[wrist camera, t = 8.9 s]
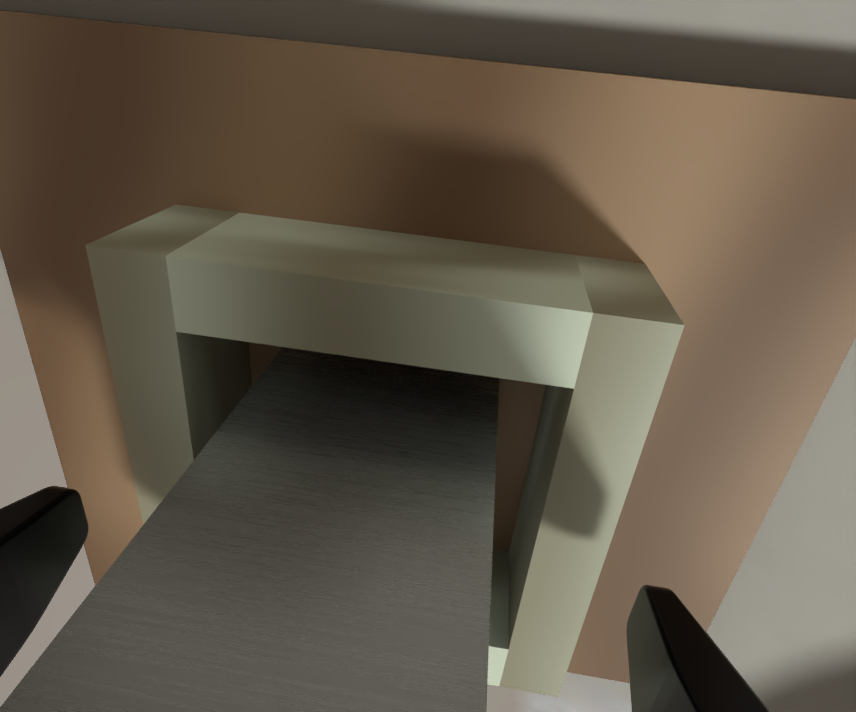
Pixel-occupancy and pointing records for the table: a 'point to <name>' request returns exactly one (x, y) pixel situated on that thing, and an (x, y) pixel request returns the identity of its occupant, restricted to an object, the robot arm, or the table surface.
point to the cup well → (438, 286)
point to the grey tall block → (303, 558)
